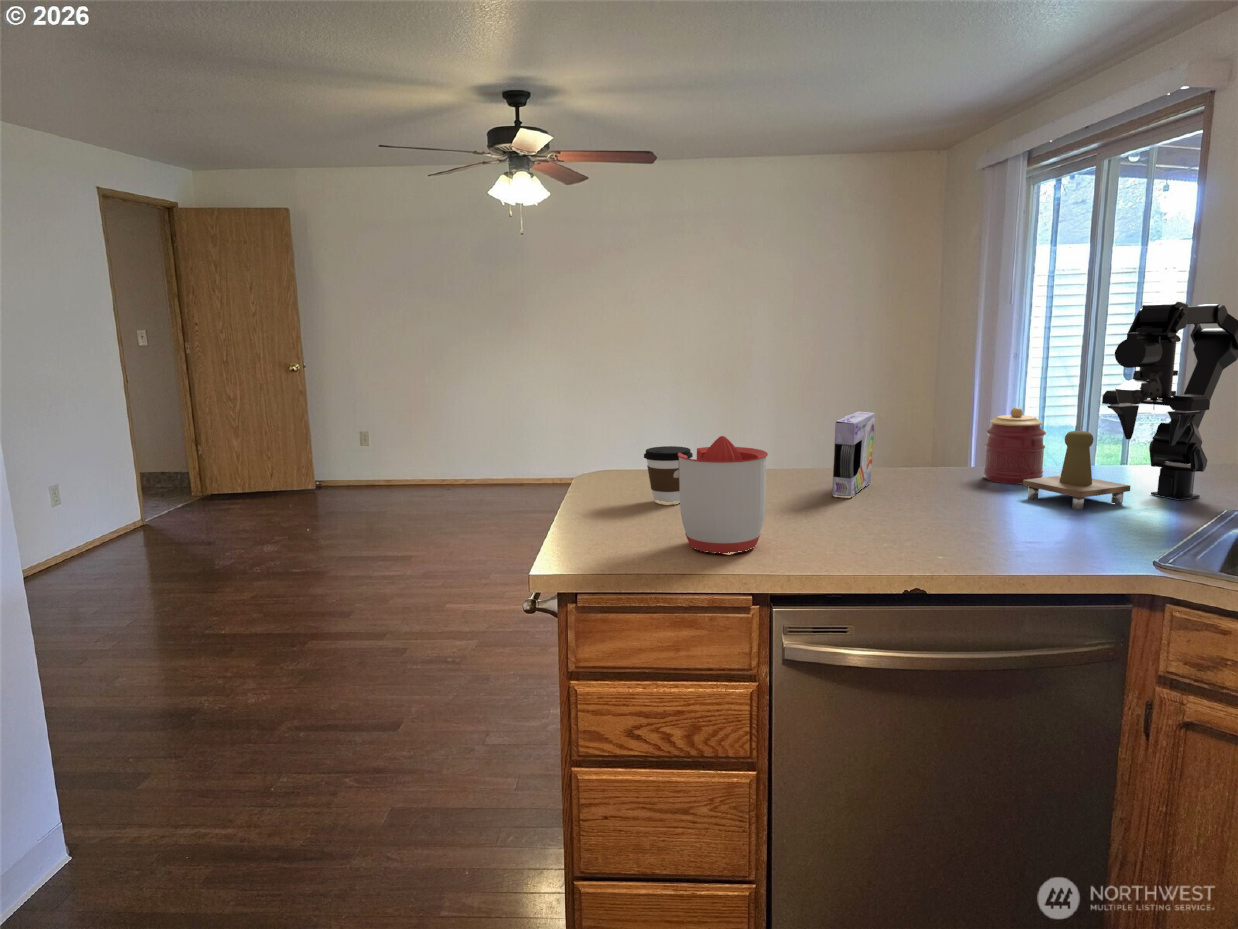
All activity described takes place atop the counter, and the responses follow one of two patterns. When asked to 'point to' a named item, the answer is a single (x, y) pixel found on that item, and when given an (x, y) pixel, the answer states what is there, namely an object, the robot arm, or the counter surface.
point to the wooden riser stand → (1076, 498)
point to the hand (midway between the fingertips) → (1149, 442)
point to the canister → (1014, 448)
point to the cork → (1077, 459)
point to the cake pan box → (853, 453)
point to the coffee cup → (665, 471)
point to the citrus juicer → (723, 496)
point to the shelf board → (1076, 487)
